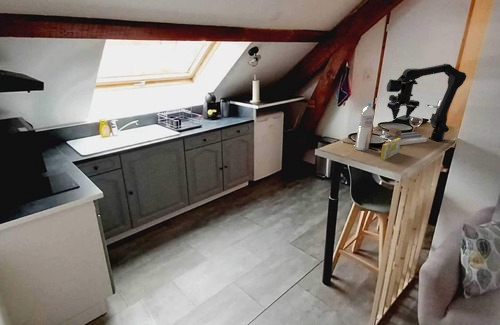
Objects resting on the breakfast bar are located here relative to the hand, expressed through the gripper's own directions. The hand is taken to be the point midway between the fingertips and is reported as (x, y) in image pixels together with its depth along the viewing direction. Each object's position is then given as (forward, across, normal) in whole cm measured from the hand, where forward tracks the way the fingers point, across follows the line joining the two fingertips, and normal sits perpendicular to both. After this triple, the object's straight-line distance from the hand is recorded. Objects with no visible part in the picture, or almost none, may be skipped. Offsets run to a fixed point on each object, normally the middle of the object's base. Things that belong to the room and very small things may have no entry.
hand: (400, 118), depth 172 cm
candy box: (+12, +26, +21) cm, 36 cm away
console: (+12, 0, +5) cm, 13 cm away
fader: (+10, +7, +4) cm, 13 cm away
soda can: (+12, +25, +1) cm, 28 cm away
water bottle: (+12, +33, +8) cm, 36 cm away
